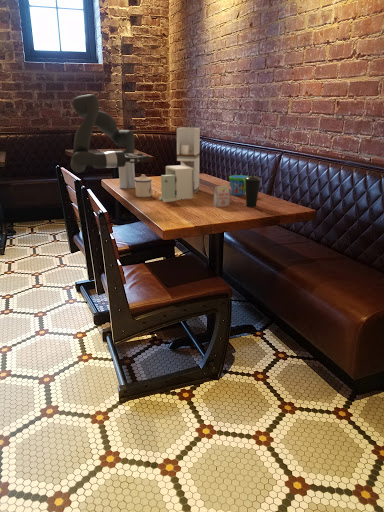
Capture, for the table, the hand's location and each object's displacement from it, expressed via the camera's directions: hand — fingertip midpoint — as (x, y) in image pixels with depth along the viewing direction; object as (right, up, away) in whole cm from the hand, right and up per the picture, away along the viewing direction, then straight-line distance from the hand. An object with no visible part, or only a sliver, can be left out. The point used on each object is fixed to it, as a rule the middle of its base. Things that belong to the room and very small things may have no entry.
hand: (145, 156), depth 198 cm
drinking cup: (+52, -24, +2) cm, 57 cm away
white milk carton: (+37, -24, +2) cm, 45 cm away
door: (+10, -19, +13) cm, 26 cm away
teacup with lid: (-4, -15, +25) cm, 29 cm away
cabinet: (+13, -17, +19) cm, 29 cm away
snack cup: (+49, -15, +28) cm, 58 cm away
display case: (+21, -11, +37) cm, 44 cm away
